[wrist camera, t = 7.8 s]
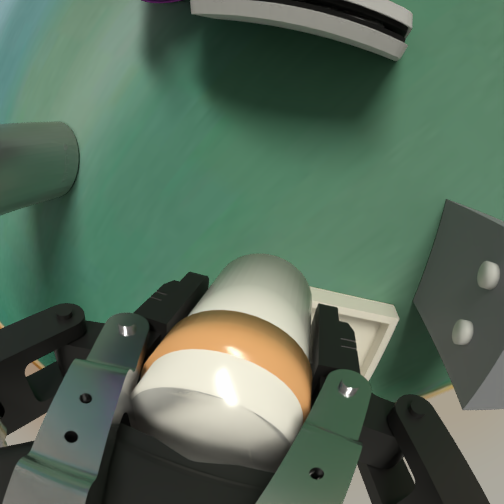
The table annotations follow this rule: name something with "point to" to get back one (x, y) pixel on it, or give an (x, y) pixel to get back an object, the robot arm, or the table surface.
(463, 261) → the control box
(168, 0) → the pencil case
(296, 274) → the white orange rounded cylinder
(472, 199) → the table surface
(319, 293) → the parts tray
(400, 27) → the white slotted rounded block
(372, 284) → the table surface
